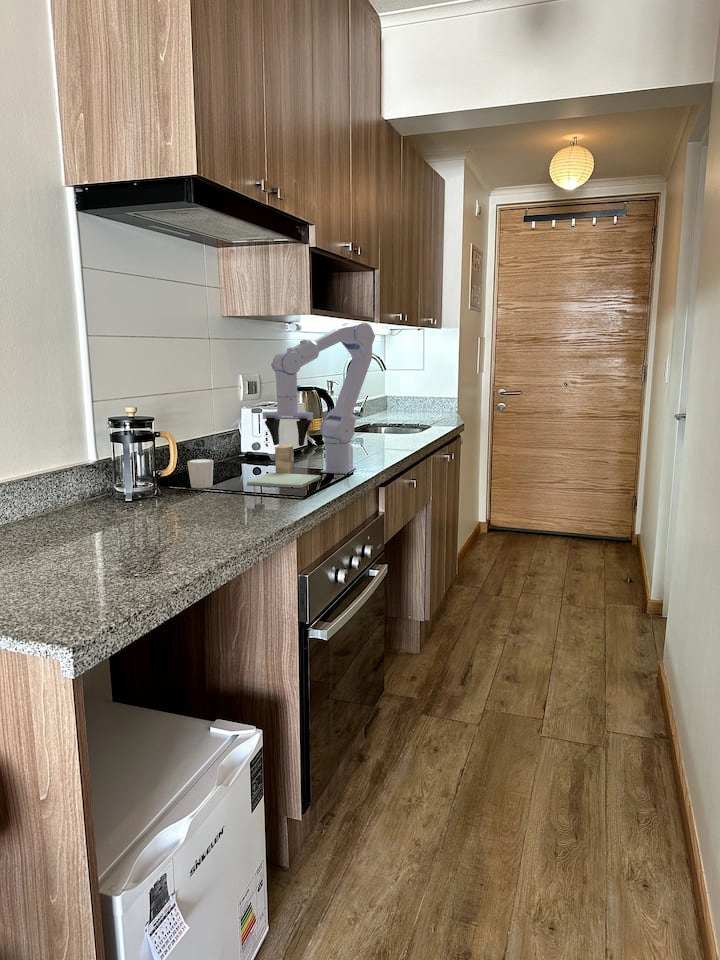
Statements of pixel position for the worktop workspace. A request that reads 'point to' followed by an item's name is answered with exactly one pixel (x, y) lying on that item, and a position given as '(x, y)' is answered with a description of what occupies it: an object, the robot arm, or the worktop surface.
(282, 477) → the cutting board
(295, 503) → the worktop surface
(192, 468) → the light grey cup
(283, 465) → the maple block
